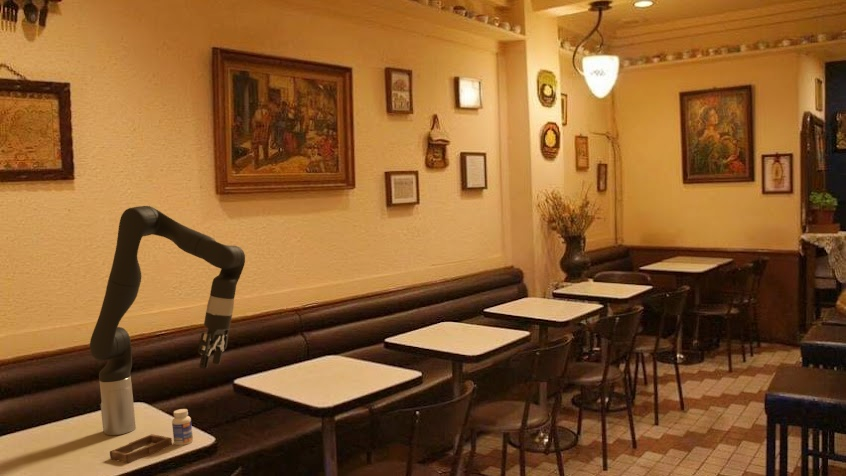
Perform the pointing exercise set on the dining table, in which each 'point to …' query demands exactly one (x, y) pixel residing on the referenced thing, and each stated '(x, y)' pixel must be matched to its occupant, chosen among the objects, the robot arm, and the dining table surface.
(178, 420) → the pill bottle
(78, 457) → the dining table surface
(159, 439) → the brown wooden rectangular frame
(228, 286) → the robot arm
